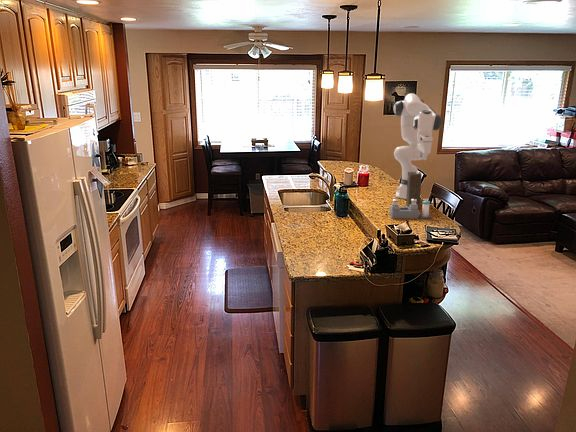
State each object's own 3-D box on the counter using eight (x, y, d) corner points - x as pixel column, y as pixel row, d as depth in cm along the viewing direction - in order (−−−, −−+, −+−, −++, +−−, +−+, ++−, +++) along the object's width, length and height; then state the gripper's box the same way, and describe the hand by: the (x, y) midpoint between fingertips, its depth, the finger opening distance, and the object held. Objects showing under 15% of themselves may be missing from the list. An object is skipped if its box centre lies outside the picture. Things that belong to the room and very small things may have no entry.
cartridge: (420, 215, 299) (421, 200, 296) (427, 215, 299) (429, 200, 296) (422, 217, 295) (423, 202, 292) (429, 217, 295) (430, 202, 292)
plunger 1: (391, 207, 301) (392, 199, 300) (397, 207, 301) (397, 198, 300) (392, 209, 298) (393, 200, 296) (398, 209, 298) (398, 200, 296)
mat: (417, 215, 302) (417, 214, 301) (429, 215, 301) (429, 214, 301) (420, 219, 294) (420, 218, 294) (432, 219, 294) (432, 218, 294)
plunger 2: (410, 207, 301) (410, 198, 299) (415, 207, 301) (416, 198, 299) (411, 208, 298) (411, 200, 296) (416, 208, 297) (417, 200, 296)
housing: (389, 214, 306) (389, 203, 304) (415, 213, 305) (415, 202, 303) (392, 218, 296) (392, 207, 294) (418, 218, 296) (419, 207, 294)
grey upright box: (420, 210, 313) (422, 174, 306) (407, 210, 314) (409, 174, 307) (417, 203, 331) (419, 169, 324) (405, 202, 332) (407, 168, 325)
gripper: (415, 135, 300) (414, 156, 304) (423, 139, 280) (421, 161, 284) (425, 134, 300) (423, 155, 304) (433, 138, 280) (432, 161, 284)
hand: (422, 158), depth 294 cm, fingers open, 8 cm apart
